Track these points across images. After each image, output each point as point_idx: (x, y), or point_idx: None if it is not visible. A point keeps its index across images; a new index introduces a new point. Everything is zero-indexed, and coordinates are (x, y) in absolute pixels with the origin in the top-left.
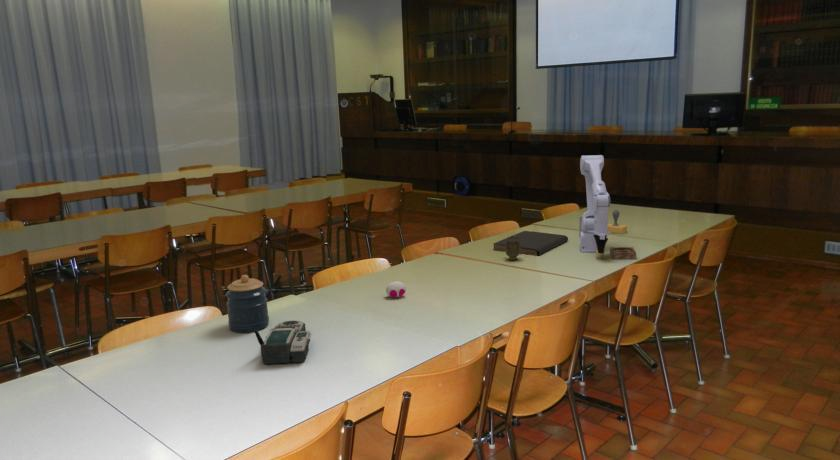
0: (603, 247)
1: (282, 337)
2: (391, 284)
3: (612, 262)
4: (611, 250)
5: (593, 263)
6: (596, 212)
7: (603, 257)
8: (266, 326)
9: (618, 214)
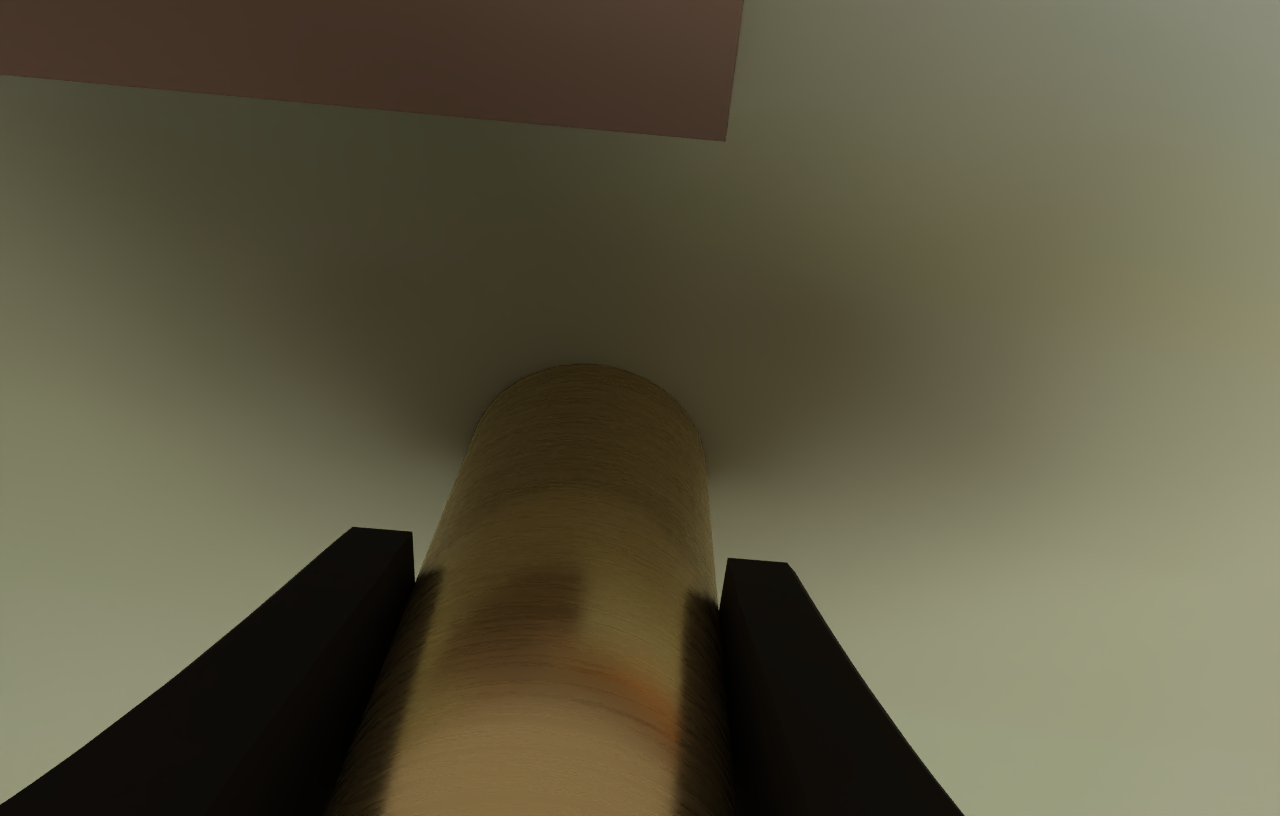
0: (871, 787)
1: None
2: None
3: (1197, 180)
4: (253, 92)
5: (1124, 706)
6: None
7: (664, 414)
8: None
9: None
